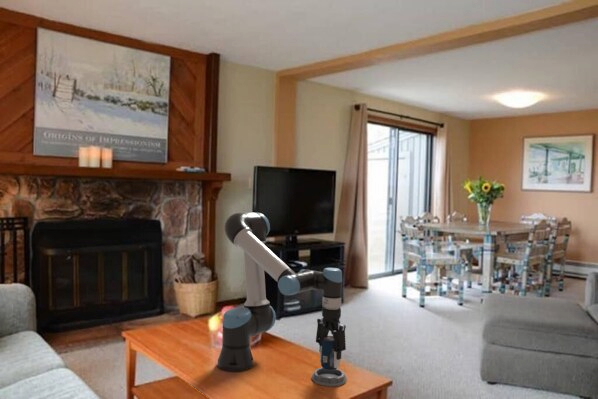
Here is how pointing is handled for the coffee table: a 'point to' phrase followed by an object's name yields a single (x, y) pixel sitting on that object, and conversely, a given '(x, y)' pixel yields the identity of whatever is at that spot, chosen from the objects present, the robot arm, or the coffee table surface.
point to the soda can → (328, 353)
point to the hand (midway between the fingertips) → (329, 364)
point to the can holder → (329, 377)
